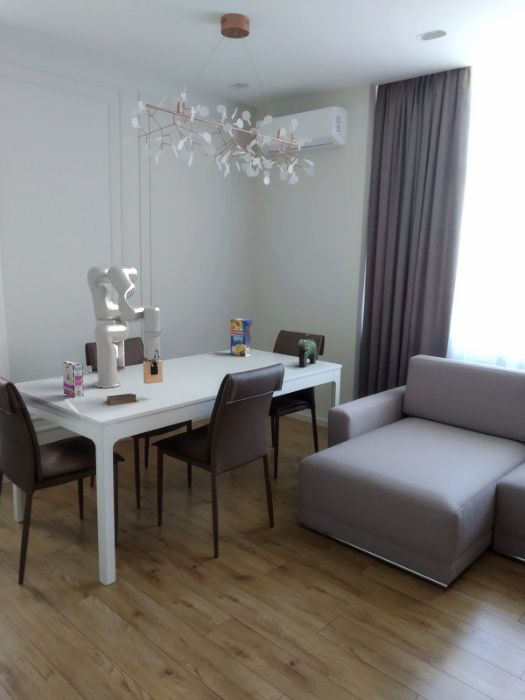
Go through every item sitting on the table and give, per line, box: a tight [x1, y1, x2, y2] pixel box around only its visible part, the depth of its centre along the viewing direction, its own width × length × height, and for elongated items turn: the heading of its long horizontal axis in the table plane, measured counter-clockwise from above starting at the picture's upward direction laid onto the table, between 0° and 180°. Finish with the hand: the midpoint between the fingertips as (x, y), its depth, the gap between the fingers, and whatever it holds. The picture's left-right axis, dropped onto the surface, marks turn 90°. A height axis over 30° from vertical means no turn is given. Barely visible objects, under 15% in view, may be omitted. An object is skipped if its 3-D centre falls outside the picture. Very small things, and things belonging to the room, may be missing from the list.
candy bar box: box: [62, 359, 84, 399], centre depth 254 cm, size 11×5×16 cm, turn 45°
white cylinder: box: [94, 316, 125, 374], centre depth 308 cm, size 11×11×35 cm
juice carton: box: [230, 318, 253, 357], centre depth 368 cm, size 12×8×24 cm, turn 60°
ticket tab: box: [142, 359, 164, 385], centre depth 251 cm, size 3×8×10 cm, turn 121°
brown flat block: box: [103, 393, 140, 407], centre depth 245 cm, size 8×14×4 cm, turn 121°
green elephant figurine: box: [297, 333, 318, 369], centre depth 339 cm, size 20×6×20 cm, turn 148°
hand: (152, 373), depth 251 cm, fingers closed on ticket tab, 3 cm apart
